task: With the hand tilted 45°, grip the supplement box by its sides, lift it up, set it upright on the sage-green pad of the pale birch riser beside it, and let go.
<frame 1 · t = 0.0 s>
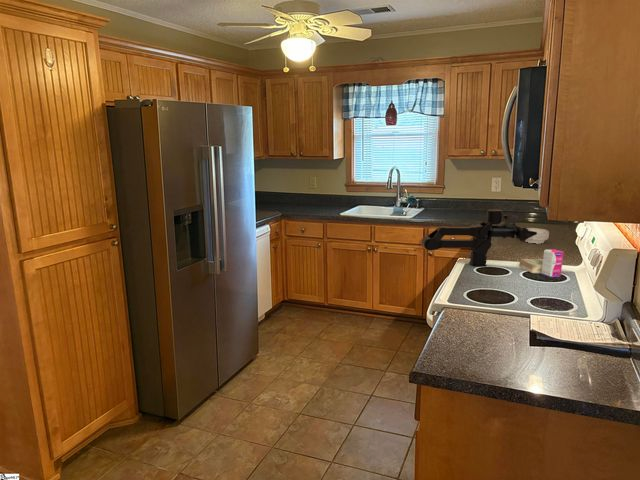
hand: (532, 231, 232), 17 cm above the table, tool horizontal, fingers open, 9 cm apart
birch riser: (539, 269, 226), on the table
supplement box: (550, 276, 215), on the table
paper bowls: (534, 242, 294), on the table
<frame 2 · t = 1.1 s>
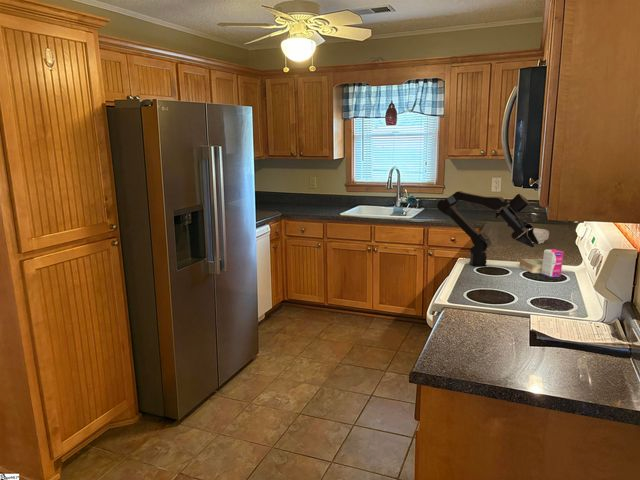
hand: (535, 245, 217), 13 cm above the table, tool tilted 45°, fingers open, 9 cm apart
nothing on the table moved.
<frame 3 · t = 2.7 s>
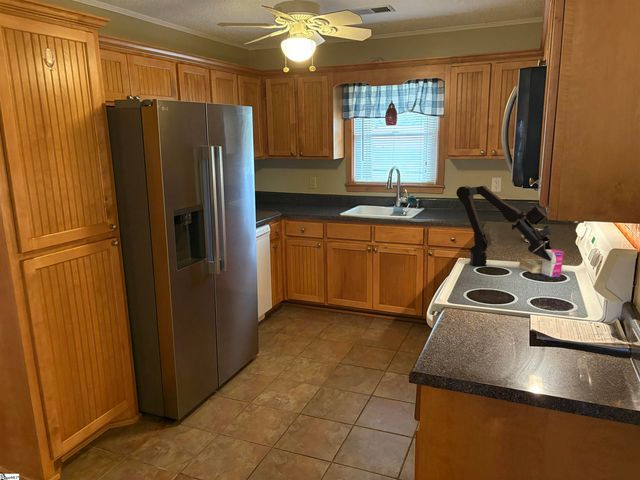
hand: (552, 258, 214), 8 cm above the table, tool tilted 45°, fingers open, 9 cm apart
nothing on the table moved.
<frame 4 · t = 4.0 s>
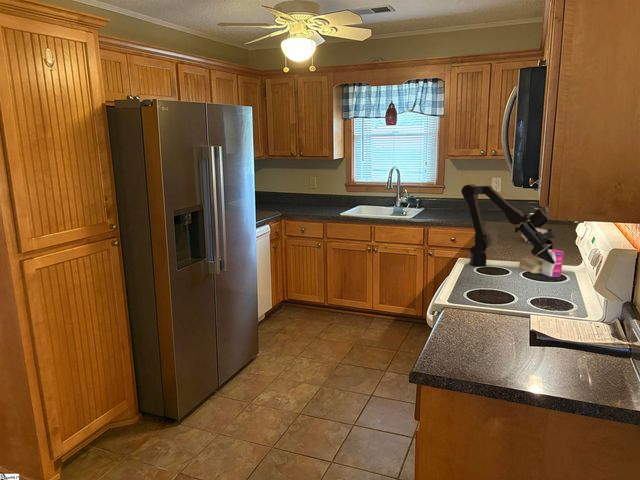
hand: (555, 261, 213), 7 cm above the table, tool tilted 45°, fingers closed on supplement box, 8 cm apart
supplement box: (551, 276, 215), on the table, touching gripper
everything else where it was.
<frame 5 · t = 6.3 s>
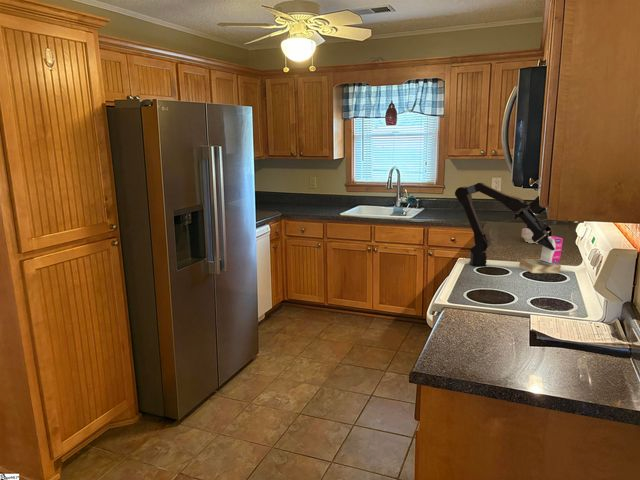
hand: (555, 248, 214), 12 cm above the table, tool tilted 45°, fingers closed on supplement box, 8 cm apart
supplement box: (550, 262, 216), point 5 cm above the table, touching gripper
everything else where it was.
when the fingers open (11 cm above the table, at t = 8.6 s): supplement box stays where it is, resting on birch riser.
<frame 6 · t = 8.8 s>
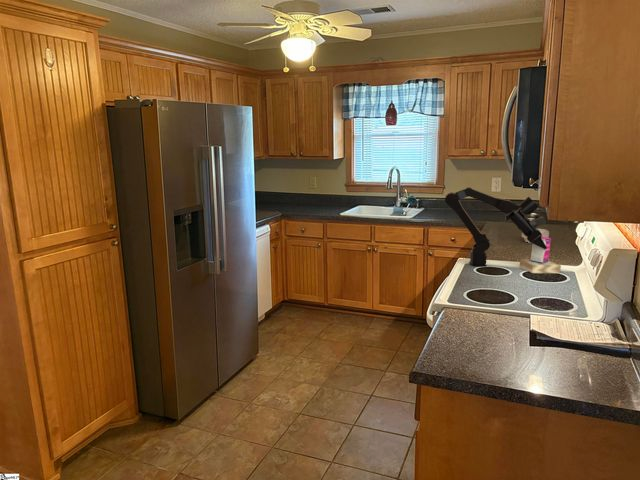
hand: (544, 246, 223), 11 cm above the table, tool tilted 45°, fingers open, 9 cm apart
supplement box: (539, 262, 225), point 4 cm above the table, touching birch riser
everything else where it was.
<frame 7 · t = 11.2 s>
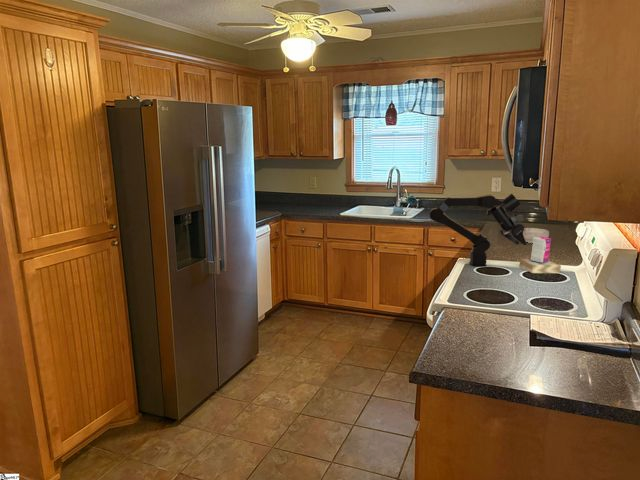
hand: (521, 244, 227), 11 cm above the table, tool tilted 40°, fingers open, 9 cm apart
nothing on the table moved.
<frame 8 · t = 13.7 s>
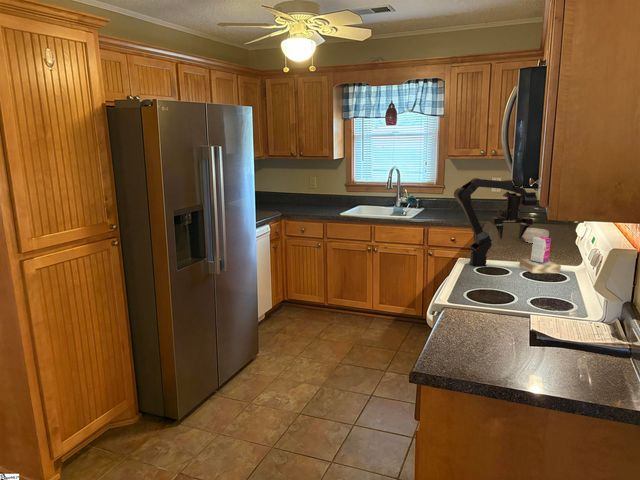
hand: (510, 238, 232), 13 cm above the table, tool pointing down, fingers open, 9 cm apart
nothing on the table moved.
at the end: supplement box inside the target area on the birch riser (0.2 cm from its centre), point 3.5 cm above the birch riser's base; supplement box tilted 0°; the gripper is holding nothing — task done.
